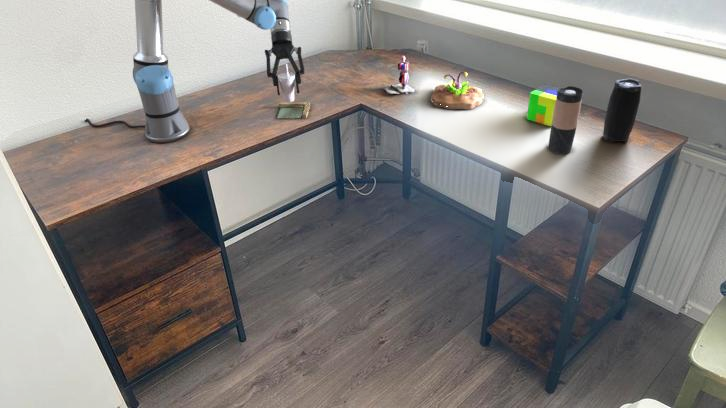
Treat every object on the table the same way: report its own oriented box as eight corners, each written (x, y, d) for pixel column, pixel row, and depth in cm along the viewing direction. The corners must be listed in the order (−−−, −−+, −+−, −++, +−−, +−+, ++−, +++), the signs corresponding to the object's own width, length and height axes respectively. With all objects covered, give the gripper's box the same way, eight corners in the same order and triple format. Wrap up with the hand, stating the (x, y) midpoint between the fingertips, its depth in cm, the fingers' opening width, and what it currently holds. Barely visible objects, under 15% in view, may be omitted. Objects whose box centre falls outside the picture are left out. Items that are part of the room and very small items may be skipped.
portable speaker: (595, 138, 184) (608, 82, 173) (611, 129, 189) (624, 75, 178) (619, 147, 179) (634, 90, 168) (634, 138, 184) (649, 82, 173)
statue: (405, 87, 229) (409, 51, 222) (414, 95, 222) (419, 58, 214) (381, 89, 225) (384, 52, 218) (390, 97, 218) (393, 59, 210)
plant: (478, 112, 204) (481, 83, 198) (426, 106, 210) (427, 78, 203) (486, 92, 220) (489, 64, 214) (438, 87, 225) (439, 60, 219)
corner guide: (274, 118, 205) (274, 115, 205) (279, 106, 215) (279, 102, 214) (306, 118, 205) (306, 114, 204) (310, 105, 214) (310, 102, 213)
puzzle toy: (565, 117, 198) (570, 91, 193) (552, 126, 192) (557, 100, 187) (540, 110, 204) (544, 84, 198) (526, 119, 198) (530, 93, 193)
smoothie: (294, 104, 203) (290, 67, 195) (278, 103, 204) (273, 66, 196) (299, 97, 208) (296, 61, 200) (283, 96, 209) (279, 60, 201)
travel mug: (568, 156, 175) (580, 97, 164) (544, 150, 178) (554, 92, 167) (574, 146, 180) (586, 88, 169) (551, 141, 184) (561, 84, 172)
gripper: (253, 32, 200) (260, 91, 196) (306, 27, 202) (314, 86, 198) (255, 42, 207) (262, 99, 203) (307, 37, 210) (314, 94, 206)
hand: (288, 92), depth 201 cm, fingers closed on smoothie, 6 cm apart
